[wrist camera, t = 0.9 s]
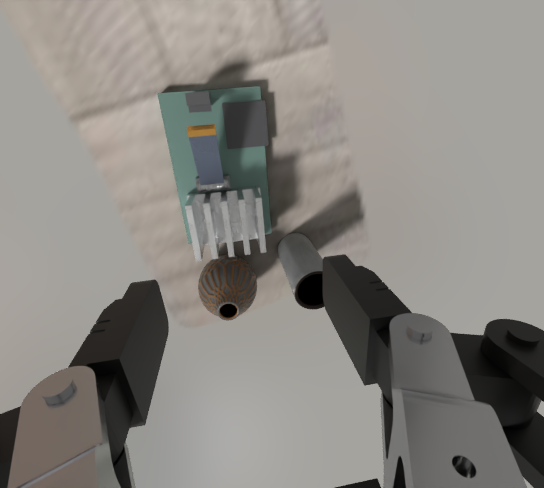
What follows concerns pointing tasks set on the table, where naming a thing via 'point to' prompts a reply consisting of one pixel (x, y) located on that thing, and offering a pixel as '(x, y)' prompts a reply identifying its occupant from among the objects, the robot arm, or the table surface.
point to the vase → (227, 286)
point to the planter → (302, 270)
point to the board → (220, 140)
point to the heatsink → (225, 219)
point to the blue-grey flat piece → (207, 158)
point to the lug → (198, 101)
